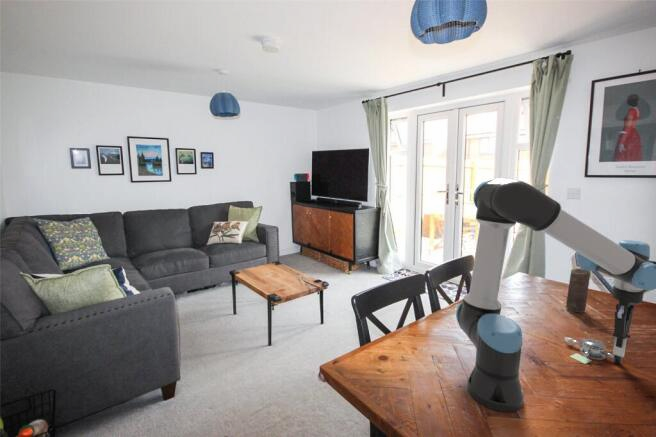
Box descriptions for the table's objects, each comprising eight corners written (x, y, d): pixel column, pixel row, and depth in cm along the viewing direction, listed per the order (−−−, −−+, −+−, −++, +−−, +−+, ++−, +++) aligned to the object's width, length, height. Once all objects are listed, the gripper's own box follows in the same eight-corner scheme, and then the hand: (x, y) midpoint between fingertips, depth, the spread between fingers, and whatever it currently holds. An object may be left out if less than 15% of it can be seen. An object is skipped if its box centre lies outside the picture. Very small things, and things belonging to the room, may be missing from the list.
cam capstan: (613, 372, 109) (616, 353, 107) (556, 348, 122) (558, 332, 121) (628, 357, 117) (630, 339, 116) (572, 336, 130) (574, 321, 129)
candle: (588, 315, 151) (594, 273, 147) (570, 314, 152) (575, 272, 149) (579, 308, 158) (584, 267, 155) (562, 306, 160) (567, 267, 156)
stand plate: (601, 375, 109) (601, 372, 109) (560, 355, 121) (560, 351, 120) (634, 360, 117) (634, 357, 117) (592, 342, 129) (593, 339, 128)
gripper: (638, 296, 101) (627, 367, 105) (648, 287, 109) (638, 353, 112) (607, 288, 107) (598, 356, 111) (618, 280, 115) (609, 344, 118)
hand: (618, 354), depth 112 cm, fingers closed
